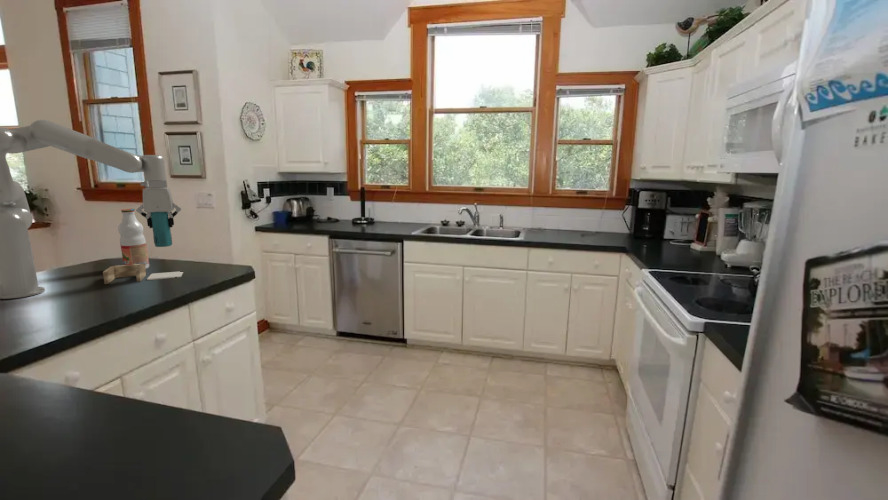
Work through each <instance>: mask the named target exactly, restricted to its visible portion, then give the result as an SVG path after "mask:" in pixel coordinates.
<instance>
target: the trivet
mask: <svg viewBox="0 0 888 500" xmlns="http://www.w3.org/2000/svg"><path fill="white" fill-rule="evenodd" d="M183 274H184V272H180V271H171V272H169V271H168V272H155V273H151V274H150V275H149V276H148V277H147V278H146V280H147V281H151V280H153V281H156V280H163V279H164V280H165V279H166V280H167V279H174V278H175V277H177V278H182V275H183ZM175 279H176V278H175Z"/></svg>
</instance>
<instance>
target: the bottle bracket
mask: <svg viewBox="0 0 888 500" xmlns="http://www.w3.org/2000/svg"><path fill="white" fill-rule="evenodd" d="M146 275H147V268H146V267H145V264H135V265H124V264H122V265H111V266H109V267H108V268H106V269H105V270H103V271H102V276H103V283H104V285H109V284H111V282H113V281H114V280H115V279H116V278H127V277H136V278H135V279H136V282H141V281H142V280H143V279H144V278H145V277H146Z"/></svg>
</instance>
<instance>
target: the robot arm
mask: <svg viewBox="0 0 888 500" xmlns="http://www.w3.org/2000/svg"><path fill="white" fill-rule="evenodd" d="M48 147H52V148H55V149H57V150H60V151H63V152H66V153H69V154H72V155H74V156H78V157H80V158H84V159H86V160H90V161H95V162H98V163H101V164H104V165H107V166H110V167H112V168H115V169H117V170H119V171H120V170H121V171H123V172H125V173H130V174H131V173H132V174H133V173H134V174H135V173H143V179H144V181H143V182H140V186H143V187H145V188H143V189H142V204H141V205H140V206H139V207H138V208H137V209H135V212H137V213H138V214H140V215H141V216H142V217H144V219H146V222H147V226H148V227H149V229H153V228H152V220H151V215H150V214H151V213H154V212H167V213H168V217H169V226H170V228H173V227H174V226H175V220H174V217H176V216H177V215H178V214H179V213H180V212H181V210H182V208H181V207H180V206H178V205H177V204H175V202H173V197H172V193H171V190H170V188H169V187H168V182H167V173H166V165H165V159H164V156H162V155H157V154H144V155H137V154H134V153H131V152H129V151H127V150H123V149H120V148H119V147H115V146H114V145H111V144H107V143H105V142H102V141H100V140H99V139H96V138H95V137H92V136H90V135H87V134H84V133H82V132H79V131H76V130H73V129H71V128H68V127H66V126H63V125H61V124H58V123H55V122H54V121H53V122H52V121H50V120H46V119H37V120H35V121H33V122H31V123H30V125H26V126H22V127H17V128H16V127H15V128H7V127H0V300H1V299H3V300H5V299H6V300H7V299H18V298H19V299H20V298H25V297H26V298H27V297H31V296H35V295H39V294H42V293H44V292H45V291H46V289H45V287H43V286H39V282H38V277H37V270H36V264H35V259H34V252H33V248H32V243H31V238H30V235H29V231H28V229H30V228H31V226H32V224H33V215H32V213H31V210H30V206H29V203H28V202H29V201H28V199H27V195H26V192H25V190H24V188H23V187H22V186H21V184H19V182H17V181H15V180H13V177H12V174H11V170H10V166H9V164H8V161H7V157H6V156H7V155H8V154H20V153H21V154H22V153H25V152H30V151H34V150H38V149H39V150H40V149H43V148H48ZM174 209H175V210H174ZM172 211H174V212H172Z"/></svg>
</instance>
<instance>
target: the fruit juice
mask: <svg viewBox="0 0 888 500" xmlns="http://www.w3.org/2000/svg"><path fill="white" fill-rule="evenodd" d="M120 212H121V214H122V219H121V220H122V221H121V223H120V224H119V225H118V227H117V228H118V233H119V235H120V238H119V244H120V250H121V251H120V252H121V257H122V262H123V265H135V264H145V267H146V269H148V268H149V267H150V260H149V253H148V247H147V240H146V237H145V235H144V229H145V228H144V226H143V224H142V223H141V222H139V220H138V219H137V217H136V214H135V213H136V209H135V208H123V209H121V210H120Z"/></svg>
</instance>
